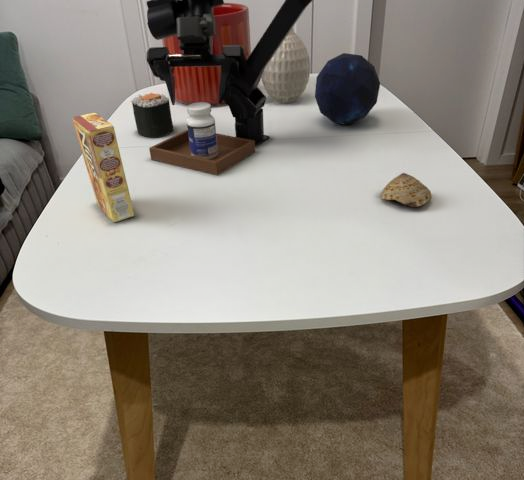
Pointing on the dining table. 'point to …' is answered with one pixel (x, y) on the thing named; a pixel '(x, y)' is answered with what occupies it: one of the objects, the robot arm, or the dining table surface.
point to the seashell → (406, 191)
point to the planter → (227, 33)
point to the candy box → (104, 165)
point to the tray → (180, 155)
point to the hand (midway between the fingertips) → (196, 103)
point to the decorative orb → (347, 88)
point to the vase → (287, 70)
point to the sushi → (152, 115)
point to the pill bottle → (202, 131)
